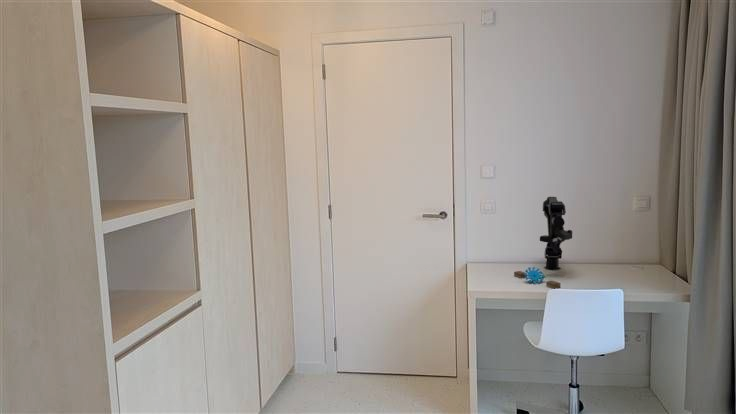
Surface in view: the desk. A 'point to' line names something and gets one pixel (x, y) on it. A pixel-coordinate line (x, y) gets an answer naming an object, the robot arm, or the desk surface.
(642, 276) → the desk surface
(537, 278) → the gear
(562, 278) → the desk surface
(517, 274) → the joist marks
